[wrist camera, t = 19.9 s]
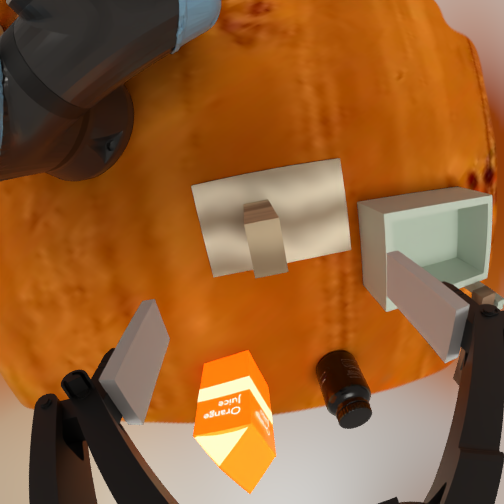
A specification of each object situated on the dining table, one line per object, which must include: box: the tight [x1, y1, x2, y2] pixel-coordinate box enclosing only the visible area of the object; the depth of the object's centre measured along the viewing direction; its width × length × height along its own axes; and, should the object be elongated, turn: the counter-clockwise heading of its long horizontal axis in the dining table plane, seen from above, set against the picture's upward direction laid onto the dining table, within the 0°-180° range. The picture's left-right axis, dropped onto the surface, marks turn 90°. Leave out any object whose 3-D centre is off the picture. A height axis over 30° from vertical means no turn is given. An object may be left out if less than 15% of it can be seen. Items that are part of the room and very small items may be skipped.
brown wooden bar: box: [453, 286, 496, 386], centre depth 32 cm, size 16×3×2 cm, turn 11°
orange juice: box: [193, 350, 276, 494], centre depth 35 cm, size 8×9×20 cm
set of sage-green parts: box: [357, 187, 504, 312], centre depth 33 cm, size 15×19×12 cm
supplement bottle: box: [316, 351, 372, 429], centre depth 39 cm, size 7×7×12 cm
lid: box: [191, 158, 351, 278], centre depth 31 cm, size 12×18×12 cm, turn 101°
